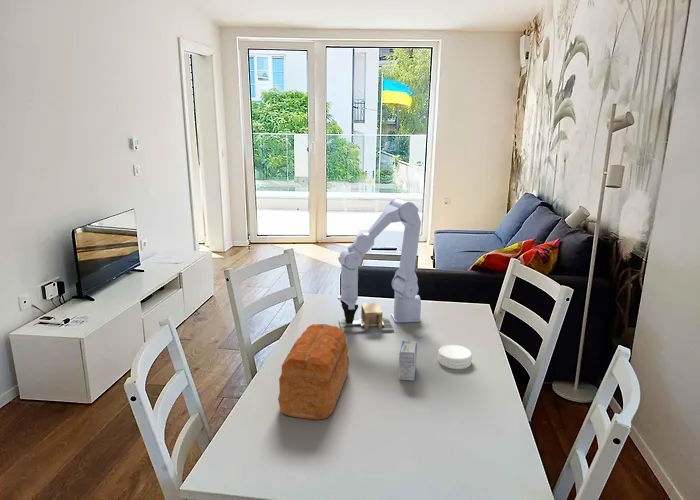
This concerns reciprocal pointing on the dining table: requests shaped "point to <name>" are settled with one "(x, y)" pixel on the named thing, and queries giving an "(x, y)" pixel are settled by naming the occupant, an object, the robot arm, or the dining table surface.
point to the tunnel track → (368, 310)
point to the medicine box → (407, 360)
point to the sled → (371, 322)
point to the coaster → (454, 357)
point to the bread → (314, 373)
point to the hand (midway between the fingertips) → (348, 321)
